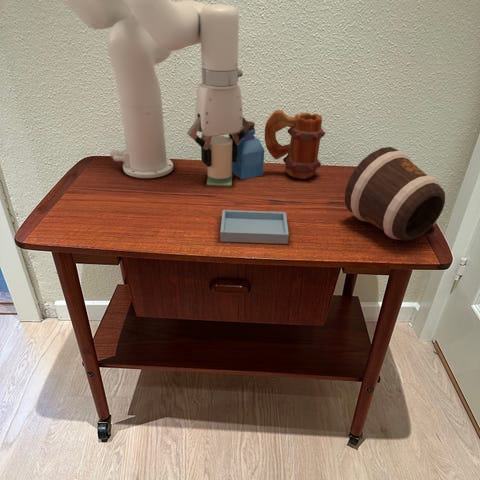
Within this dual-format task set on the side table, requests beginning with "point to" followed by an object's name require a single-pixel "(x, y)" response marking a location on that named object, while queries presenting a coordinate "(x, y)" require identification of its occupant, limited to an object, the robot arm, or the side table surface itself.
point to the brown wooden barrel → (394, 194)
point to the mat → (219, 181)
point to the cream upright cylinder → (220, 157)
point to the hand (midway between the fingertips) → (219, 161)
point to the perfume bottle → (249, 156)
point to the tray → (254, 227)
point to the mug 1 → (296, 142)
